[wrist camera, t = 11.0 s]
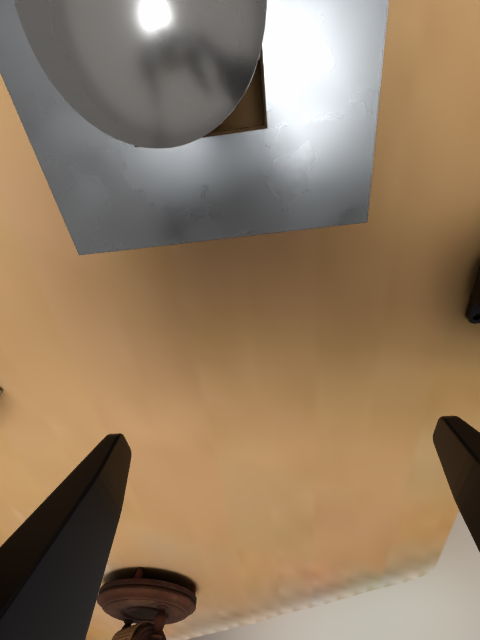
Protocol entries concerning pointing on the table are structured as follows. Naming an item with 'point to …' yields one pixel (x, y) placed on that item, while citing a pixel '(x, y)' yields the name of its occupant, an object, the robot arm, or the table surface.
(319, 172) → the socket block
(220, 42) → the silver flanged peg
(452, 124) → the table surface
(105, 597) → the brown figurine
